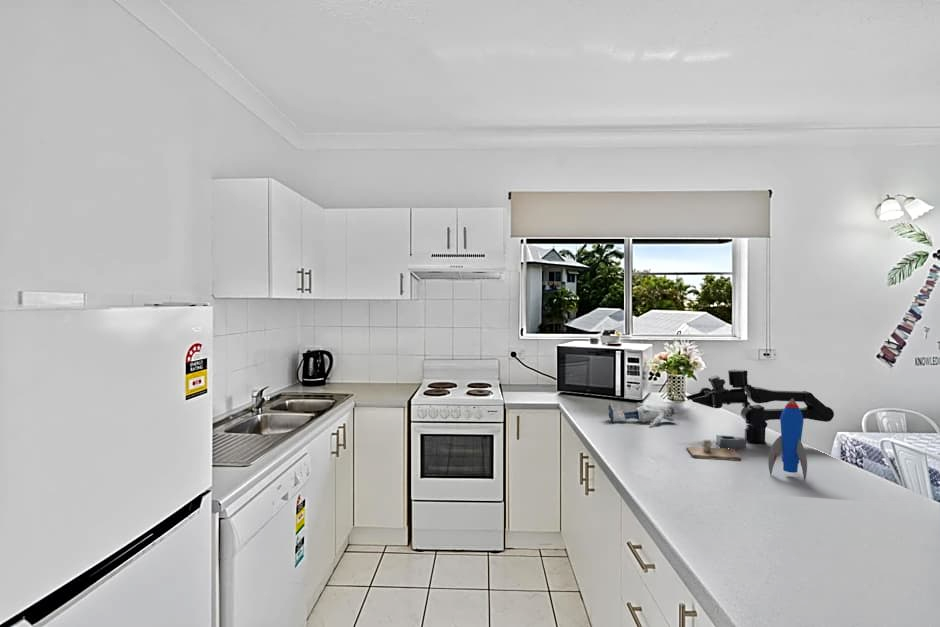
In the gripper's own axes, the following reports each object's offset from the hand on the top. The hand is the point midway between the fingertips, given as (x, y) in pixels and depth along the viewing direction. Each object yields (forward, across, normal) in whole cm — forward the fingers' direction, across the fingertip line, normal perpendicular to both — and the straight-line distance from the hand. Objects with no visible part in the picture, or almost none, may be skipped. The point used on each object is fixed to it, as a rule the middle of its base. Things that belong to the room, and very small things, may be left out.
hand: (689, 398), depth 233 cm
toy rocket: (-18, +45, +20) cm, 52 cm away
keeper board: (-2, +22, +18) cm, 28 cm away
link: (-12, +10, +18) cm, 23 cm away
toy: (+15, -30, +14) cm, 36 cm away
